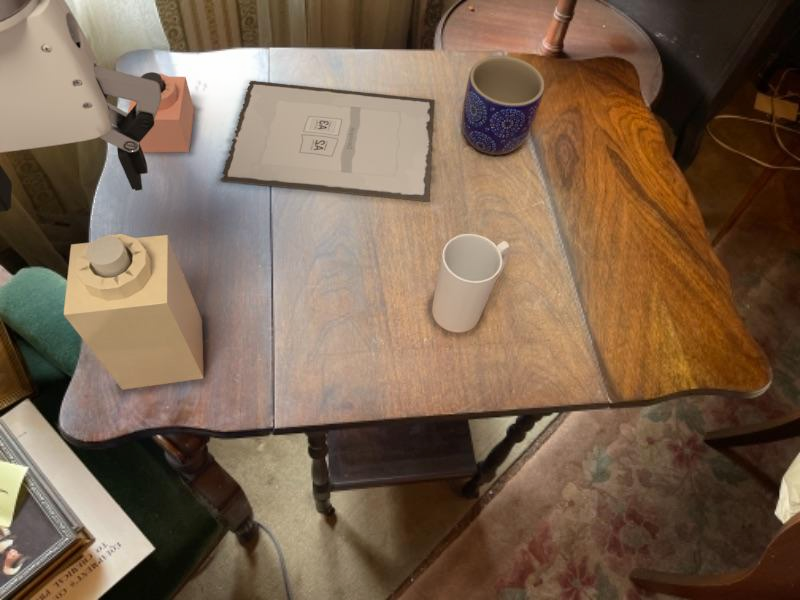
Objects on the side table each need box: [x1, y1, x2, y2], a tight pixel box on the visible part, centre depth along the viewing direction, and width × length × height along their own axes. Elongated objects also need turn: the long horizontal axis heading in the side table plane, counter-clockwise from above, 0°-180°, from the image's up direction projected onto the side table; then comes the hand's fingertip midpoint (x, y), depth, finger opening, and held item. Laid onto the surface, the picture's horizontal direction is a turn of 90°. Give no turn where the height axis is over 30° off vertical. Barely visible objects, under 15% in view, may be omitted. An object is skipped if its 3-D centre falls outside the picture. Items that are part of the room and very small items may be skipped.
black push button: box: [141, 71, 164, 93], centre depth 84 cm, size 3×3×2 cm
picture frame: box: [219, 80, 435, 202], centre depth 92 cm, size 22×1×30 cm
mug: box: [431, 233, 511, 334], centre depth 73 cm, size 10×7×12 cm, turn 125°
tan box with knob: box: [63, 233, 205, 391], centre depth 64 cm, size 9×8×19 cm
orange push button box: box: [127, 73, 195, 153], centre depth 87 cm, size 7×9×8 cm
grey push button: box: [86, 235, 130, 277], centre depth 55 cm, size 3×3×2 cm
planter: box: [461, 55, 546, 156], centre depth 90 cm, size 11×11×11 cm
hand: (73, 187), depth 48 cm, fingers open, 9 cm apart
